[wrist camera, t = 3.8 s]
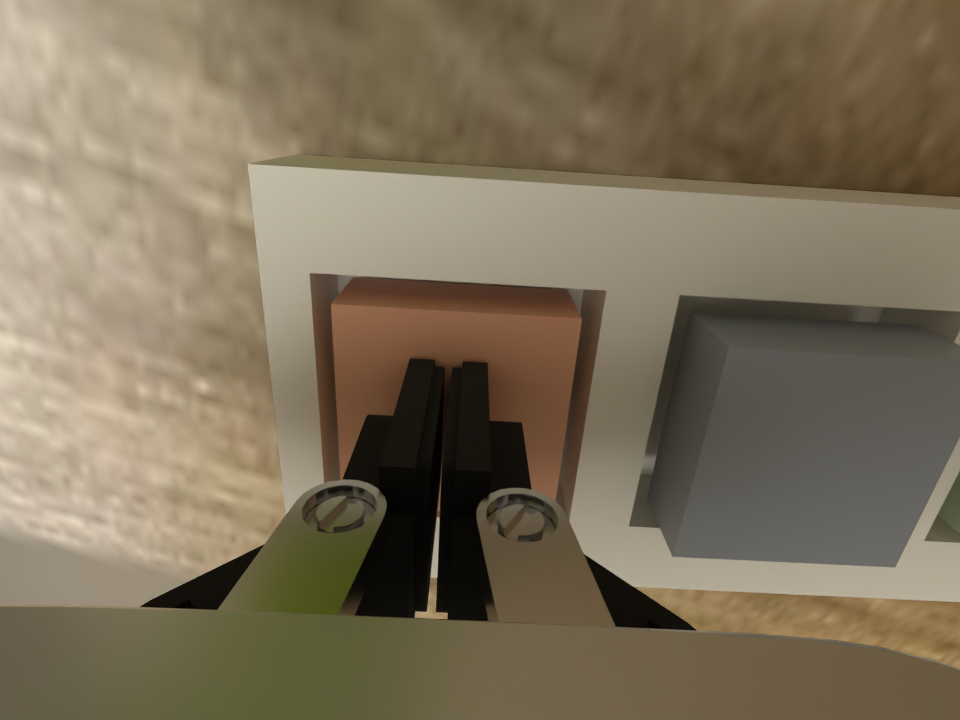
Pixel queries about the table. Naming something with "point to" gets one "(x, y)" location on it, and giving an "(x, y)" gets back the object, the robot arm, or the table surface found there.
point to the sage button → (952, 506)
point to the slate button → (803, 439)
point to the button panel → (606, 318)
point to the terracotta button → (459, 356)
